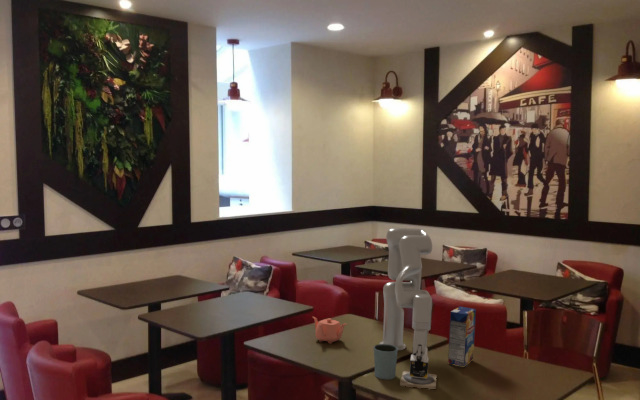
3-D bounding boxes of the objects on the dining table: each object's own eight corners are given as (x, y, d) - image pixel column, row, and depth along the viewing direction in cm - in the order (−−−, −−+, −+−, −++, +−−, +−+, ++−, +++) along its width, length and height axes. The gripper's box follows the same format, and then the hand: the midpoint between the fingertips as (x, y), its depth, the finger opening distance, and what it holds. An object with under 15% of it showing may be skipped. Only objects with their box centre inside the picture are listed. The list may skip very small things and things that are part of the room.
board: (403, 373, 249) (403, 368, 249) (436, 377, 246) (436, 372, 246) (399, 385, 235) (400, 381, 235) (435, 390, 232) (435, 385, 232)
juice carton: (457, 357, 272) (460, 306, 270) (473, 360, 268) (476, 309, 266) (447, 364, 262) (450, 311, 260) (464, 368, 258) (467, 314, 256)
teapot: (346, 344, 285) (347, 322, 284) (317, 345, 282) (318, 323, 281) (338, 335, 299) (339, 314, 298) (311, 336, 296) (312, 315, 295)
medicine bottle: (409, 377, 238) (410, 348, 237) (410, 370, 245) (411, 342, 244) (427, 379, 236) (428, 349, 235) (427, 372, 243) (429, 344, 242)
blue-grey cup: (390, 382, 239) (391, 353, 238) (368, 376, 244) (369, 348, 244) (400, 374, 248) (401, 346, 247) (379, 369, 253) (380, 342, 252)
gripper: (413, 318, 248) (411, 359, 250) (410, 330, 231) (408, 373, 233) (431, 319, 247) (429, 361, 248) (429, 332, 230) (427, 376, 231)
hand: (419, 366), depth 240 cm, fingers closed on medicine bottle, 7 cm apart
